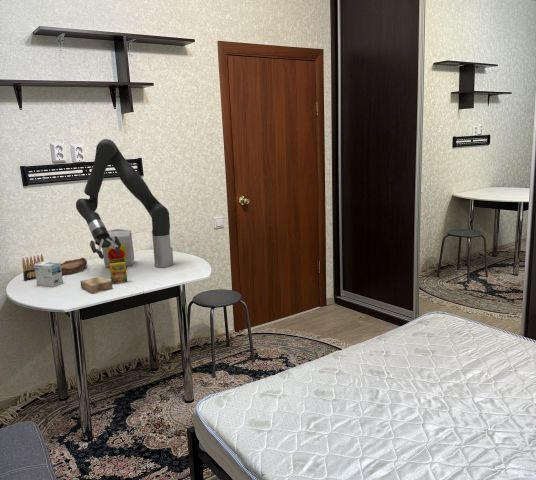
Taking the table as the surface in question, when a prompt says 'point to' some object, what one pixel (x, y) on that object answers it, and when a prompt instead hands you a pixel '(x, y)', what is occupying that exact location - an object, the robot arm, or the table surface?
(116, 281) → the crayon box
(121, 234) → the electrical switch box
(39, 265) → the light bulb box
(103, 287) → the tray
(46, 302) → the table surface
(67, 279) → the table surface
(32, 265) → the ammunition clip
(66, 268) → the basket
